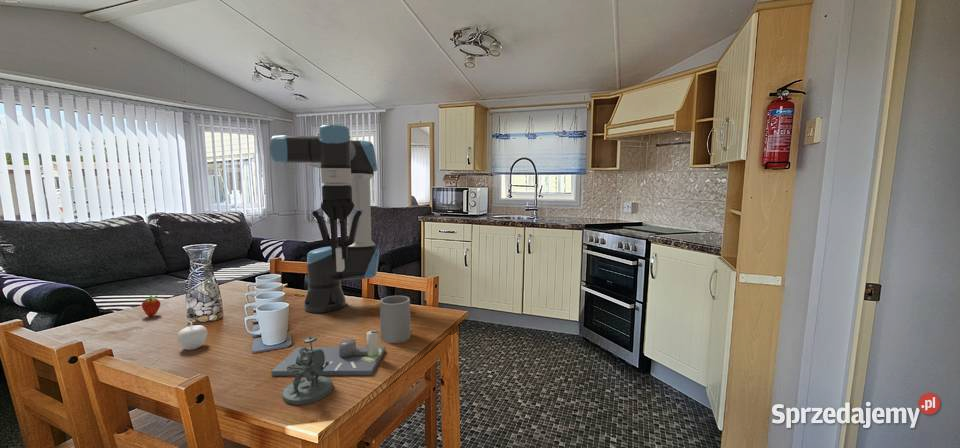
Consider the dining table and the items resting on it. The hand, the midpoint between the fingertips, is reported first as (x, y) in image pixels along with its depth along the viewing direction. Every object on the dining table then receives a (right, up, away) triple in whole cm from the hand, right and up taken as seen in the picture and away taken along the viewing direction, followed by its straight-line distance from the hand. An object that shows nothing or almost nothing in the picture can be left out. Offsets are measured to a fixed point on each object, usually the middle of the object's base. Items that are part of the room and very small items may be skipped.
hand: (340, 270), depth 104 cm
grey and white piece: (+5, -23, -1) cm, 23 cm away
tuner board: (-1, -24, -3) cm, 25 cm away
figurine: (-1, -26, -17) cm, 31 cm away
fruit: (-81, -21, +34) cm, 90 cm away
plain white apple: (-46, -24, +7) cm, 52 cm away
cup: (+12, -23, +14) cm, 30 cm away
